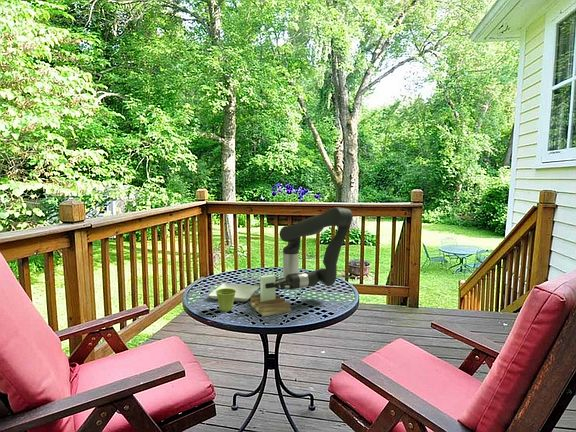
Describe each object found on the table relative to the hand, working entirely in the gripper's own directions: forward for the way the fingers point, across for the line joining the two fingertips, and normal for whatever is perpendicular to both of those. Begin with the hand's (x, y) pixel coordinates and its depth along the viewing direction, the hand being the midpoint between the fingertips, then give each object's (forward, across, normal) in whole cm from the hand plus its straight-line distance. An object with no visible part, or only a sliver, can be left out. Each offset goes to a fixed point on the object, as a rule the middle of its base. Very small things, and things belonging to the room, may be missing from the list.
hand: (264, 285), depth 177 cm
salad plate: (+7, -24, +12) cm, 28 cm away
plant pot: (+17, -7, +12) cm, 21 cm away
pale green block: (-2, 0, +10) cm, 10 cm away
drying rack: (-3, 0, +11) cm, 12 cm away
